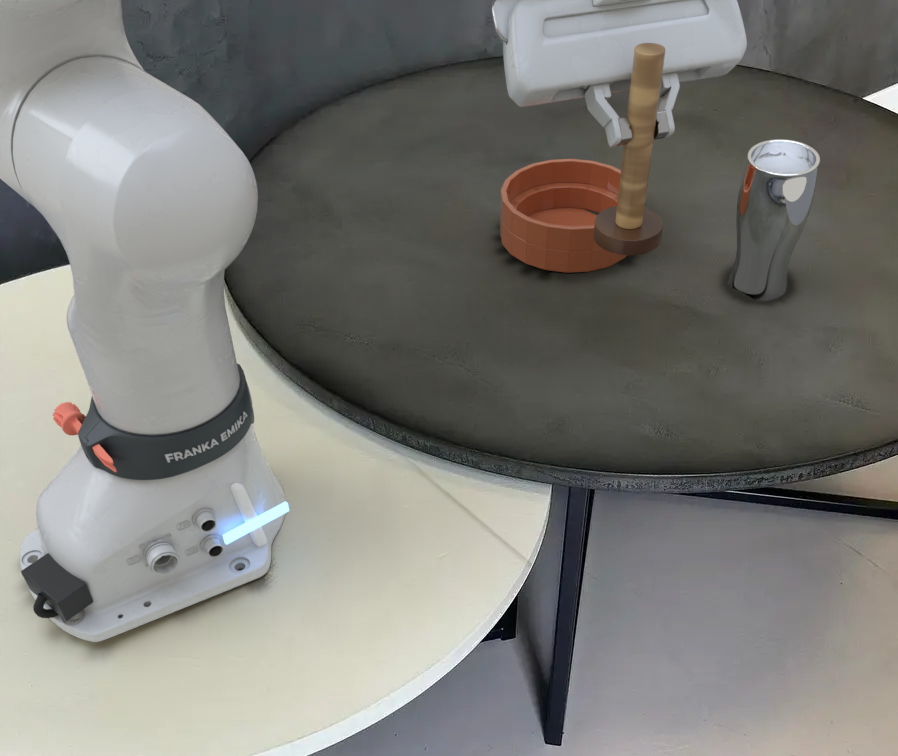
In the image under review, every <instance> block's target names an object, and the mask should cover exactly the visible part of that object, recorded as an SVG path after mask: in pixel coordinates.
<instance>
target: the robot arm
mask: <svg viewBox="0 0 898 756" xmlns="http://www.w3.org/2000/svg"><path fill="white" fill-rule="evenodd" d="M491 15H492V21H493V24H494V29H495V32H496V34H497V36H498V38H499V39H500V40H501V41H502V53H503V54H502V57H503V67H504V70H503V71H504V76H505V85H506V90H507V95H508V97H509V98H510V99H511V101H513V102H514V103H515V104H516V105H517V106H518V107H519V108H525V107H531V106H539V105H544V104H545V105H546V104H551V103H559V102H564V101H570V100H576V99H582V98H584V100H585V104H586V108H587V111H588V112H589V113H590V114H591V116H593V118H594V119H595V120H596V121H597V122H598V124H600V126H601V127H602V128H604V130H605V134H606V139H607V144H608V146H609V148H614V147H620V146H624V145H626V144H628V142H629V141H631V139H632V130H631V129H630V128H629V127H630V121H629V118H628V117H627V116H624V117H623V116H622V117H620V116H619V115H618V114H617V112H616V111H615V109H614V108H613V107H612V105H611V104H610V103H609V102H608V100H609V99H611V97H612V94H614V93H623V92H628V91H629V92H630V84H631V75H632V66H633V57H634V48H635V47H636V46H637V45H639V44H642V43H656V44H660V45H662V46H664V47H665V49H666V51H665V58H664V66H663V73H662V81H661V89H660V96H659V99H660V100H659V104H658V111H657V119H656V126H655V134H654V141H655V140H661V139H668V138H670V137H671V136H672V135H673V134H675V128H676V126H675V121H674V115H673V111H672V110H673V109H674V107H675V103H676V100H677V97H678V95H679V91H680V87H681V85H680V83H685V82H686V83H687V82H693V81H698V80H704V79H711V78H718V77H723V76H726V75H727V74H728V73H730V72H731V71H733V69H735V67H736V66H737V65H738V64H739V63H740V62H741V61H742V59H743V57H744V55H745V53H746V50H747V47H748V41H747V40H748V39H747V35H746V29H745V25H744V21H743V16H742V12H741V9H740V5H739V1H738V0H493V2H492V5H491ZM123 18H124V17H123V6H122V0H0V180H1V181H2V182H4V183H5V184H6V185H7V186H8V187H10V188H11V189H12V190H13V191H14V192H16V193H17V194H18V195H19V196H20V197H22V198H23V199H24V200H25V201H26V202H27V203H29V204H30V205H31V206H33V207H34V208H35V209H36V211H38V212H39V213H40V214H41V216H43V218H44V219H45V221H46V222H47V223H48V224H49V226H50V227H51V229H52V230H53V232H54V233H55V235H56V237H57V238H58V239H59V241H60V243H61V245H62V247H63V249H64V251H65V253H66V257H67V259H68V262H69V265H70V266H69V267H70V270H71V271H70V272H71V276H72V286H73V296H72V297H71V299H70V301H69V304H68V306H67V311H66V315H65V316H66V317H65V318H66V327H67V331H68V333H69V336H70V339H71V341H72V344H73V348H74V350H75V354H76V356H77V358H78V361H79V363H80V366H81V370H82V372H83V375H84V377H85V380H86V383H87V386H88V389H89V391H90V395H91V398H90V403H89V409H88V411H87V413H86V415H85V414H84V413H82V412H81V410H80V408H79V407H78V406H77V405H76V404H75V403H73V402H71V401H70V402H69V401H67V402H62V403H60V404H58V405H57V406H56V407H55V409H54V412H53V413H52V417H53V418H52V419H53V421H54V422H55V423H56V425H57V426H59V427H61V430H62V432H63V433H64V434H66V435H68V436H73V437H74V436H77V437H78V440H79V443H80V446H79V447H78V448H77V449H76V451H75V452H74V453H73V455H72V456H71V457H70V458H69V459H68V461H67V462H66V463H65V464H64V466H63V467H62V468H61V469H60V470H59V471H58V473H56V474H55V476H54V477H53V478H52V480H51V481H50V482H49V484H48V485H47V486H46V487H44V489H43V490H42V491H41V492H40V494H39V496H38V498H37V501H36V506H35V522H36V529H34V530H32V531H31V532H30V533H28V534H27V535H26V536H25V537H24V538H23V540H22V542H21V544H20V545H21V546H20V551H19V564H20V568H21V569H20V570H21V571H20V573H21V575H22V577H23V579H24V582H25V584H26V586H27V589H28V591H29V592H30V594H31V596H32V598H33V599H34V603H33V612H34V613H35V615H36V616H37V617H39V618H40V619H50V620H51V622H52V623H53V624H55V625H56V626H57V627H59V628H60V629H61V630H62V631H64V632H66V633H67V634H68V635H71V636H72V637H76V638H77V639H79V640H83V641H87V642H90V643H91V642H92V643H99V642H102V641H105V640H108V639H111V638H113V637H116V636H119V635H121V634H123V633H126V632H128V631H131V630H133V629H136V628H138V627H141V626H143V625H146V624H148V623H150V622H151V623H152V622H153V621H155V620H157V619H161V618H163V617H166V616H168V615H171V614H172V613H175V612H178V611H180V610H182V609H183V610H184V609H185V608H188V607H191V606H193V605H195V604H198V603H200V602H203V601H206V600H208V599H210V598H212V597H215V596H217V595H220V594H222V593H225V592H227V591H230V590H232V589H235V588H238V587H240V586H242V585H244V584H247V583H250V582H252V581H255V580H257V579H260V578H262V577H263V576H264V575H266V574H267V573H268V572H269V569H270V567H271V563H272V545H273V542H274V540H275V538H276V536H277V535H278V533H279V531H280V529H281V528H282V525H283V523H284V521H285V517H286V513H289V512H290V508H289V502H287V497H286V494H285V491H284V488H283V486H282V484H281V483H280V480H278V478H277V477H276V475H275V474H274V472H273V471H272V469H271V467H270V465H269V463H268V461H267V459H266V457H265V455H264V452H263V450H262V447H261V445H260V443H259V442H260V441H259V440H258V437H257V433H256V431H255V428H254V423H255V413H254V407H253V398H252V395H251V391H250V387H249V384H248V381H247V377H246V374H245V371H244V369H243V367H242V365H241V364H240V363H238V361H237V356H236V352H235V347H234V342H233V337H232V332H231V328H230V327H231V326H230V323H229V318H228V313H227V308H226V307H227V306H226V300H225V273H226V269H228V267H229V266H230V265H231V264H232V263H233V262H234V261H235V260H236V259H237V258H238V256H239V255H240V254H241V253H242V251H243V249H244V248H245V246H246V244H247V242H248V241H249V239H250V237H251V234H252V232H253V228H254V226H255V222H256V218H257V213H258V207H259V206H258V205H259V204H258V203H259V202H258V201H259V195H258V183H257V179H256V175H255V173H254V169H253V167H252V165H251V163H250V160H249V159H248V157H247V156H246V154H245V153H244V152H243V151H242V149H241V148H240V147H239V146H238V144H237V143H236V142H235V141H234V140H233V138H232V137H231V136H230V135H229V134H228V133H227V131H226V130H225V129H224V128H223V127H222V125H220V123H219V122H218V121H216V119H214V117H213V116H212V115H211V114H210V113H209V112H208V111H207V110H206V109H205V108H204V107H203V106H202V105H201V104H199V102H196V101H195V100H193V99H192V98H190V97H189V96H187V95H185V94H183V93H182V92H180V91H179V90H177V89H175V88H173V87H172V86H170V85H168V84H167V83H165V82H163V81H162V80H160V79H158V78H156V77H155V76H153V75H152V74H150V73H148V72H147V71H145V69H144V68H143V67H142V65H141V64H140V62H139V61H138V59H137V57H136V55H135V54H134V52H133V49H132V48H131V46H130V43H129V40H128V38H127V35H126V31H125V29H126V28H125V25H124V19H123Z"/></svg>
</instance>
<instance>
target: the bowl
mask: <svg viewBox="0 0 898 756" xmlns="http://www.w3.org/2000/svg"><path fill="white" fill-rule="evenodd" d="M620 174H621V168H618V167H616V166H613V165H611V164H607V163H604V162H600V161H595V160H591V159H589V160H588V159H578V158H560V159H548V160H544V161H539V162H538V161H537V162H533V163H530V164H528V165H526V166H523V167H521V168H518V169H517V170H515V171H513V173H511V174H510V175H508V177H506V178H505V180H504V181H503V184H502V186H501V189H500V210H499V235H500V241H501V244H502V246H503V247H504V248H505V249H506V250H507V252H508V254H510V255H511V256H512V257H514V258H515V259H517V260H519V261H521V262H522V263H524V264H526V265H529V266H532V267H534V268H538V269H541V270H544V271H549V272H559V273H586V272H587V273H588V272H593V271H597V270H601V269H605V268H609V267H611V266H613V265H615V264H617V263H618V262H620V261H621V260H624V259H625V258H626V257H627V256H628V255H620V254H615V253H612V252H609V251H607V250H604V249H603V248H601V247H600V246H599V245H598V244H597V243H596V242H595V240H594V225H595V219H596V217H597V215H598V214H599V213H600V212H601V211H603V210H605V209H607V208H610V207H614V206H617V201H618V192H619V183H620ZM595 213H597V214H595Z"/></svg>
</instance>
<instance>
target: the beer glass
mask: <svg viewBox="0 0 898 756" xmlns="http://www.w3.org/2000/svg"><path fill="white" fill-rule="evenodd" d="M820 162H821V158H820V154H819V153H818V151H817V150H816V149H815V148H813V147H811V146H810V145H808V144H806V143H804V142H801V141H797V140H792V139H783V138H777V139H776V138H775V139H769V140H764V141H760V142H759V143H756V144H755V145H753V146H751V148H750V149H749V150H748V152H747V157H746V161H745V165H744V169H743V172H742V176H741V180H740V183H739V189H738V193H737V201H736V214H735V215H736V219H735V222H736V225H735V227H736V229H735V230H736V252H735V260H734V263H733V265H732V266H733V267H732V269H731V271H730V274H729V276H728V279H727V286H729V287H730V288H733V289H735V290H736V291H738V292H740V293H741V294H743V295H745V296H747V297H749V298H751V299H753V300H755V301H756V302H769V301H773V300H777V299H778V298H780V297H783V296H784V294H785V293H786V291H787V289H788V269H789V264H790V260H791V258H792V255H793V253H794V250H795V249H796V246H797V245H798V242H799V239H800V237H801V235H802V233H803V230H804V228H805V226H806V223H807V221H808V218H809V216H810V212H811V208H812V205H813V201H814V197H815V192H816V187H817V179H818V172H819V166H820Z"/></svg>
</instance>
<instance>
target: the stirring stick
mask: <svg viewBox="0 0 898 756" xmlns="http://www.w3.org/2000/svg"><path fill="white" fill-rule="evenodd" d="M665 51H666V49H665V47H664V46H662V45H660V44H656V43H642V44H639V45H637V46H636V47H635V48H634V57H633V66H632V75H631V84H630V90H629V95H628V103H627V112H626V117H628V118H629V121H630V127H629V128H630V129H631V130H632V139H631V141H629V142H628V144H626V145H623V149H622V156H621V157H622V158H621V164H620V165H621V166H620V170H621V174H620V183H619V192H618V201H617V206H614V207H610V208H607V209H605V210H603V211H601V212H600V213H597V214H596V215H597V217H596V219H595V225H594V240H595V242H596V243H597V244H598V245H599V246H600V247H601V248H603V249H604V250H607V251H609V252H612V253H615V254H620V255H627V256H639V255H644V254H648V253H650V252H652V251H654V250H655V249H657V247H659V245H660V244H661V241H662V235H663V228H664V222H663V220H662V217H660V215H659V214H657V213H656V212H655V211H653V210H651V209H648V208H646V201H647V194H648V185H649V177H650V172H651V171H650V170H651V162H652V156H653V155H652V154H653V148H654V141H655V140H654V134H655V126H656V119H657V112H658V108H659V104H660V98H659V96H660V89H661V81H662V73H663V66H664V58H665Z"/></svg>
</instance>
